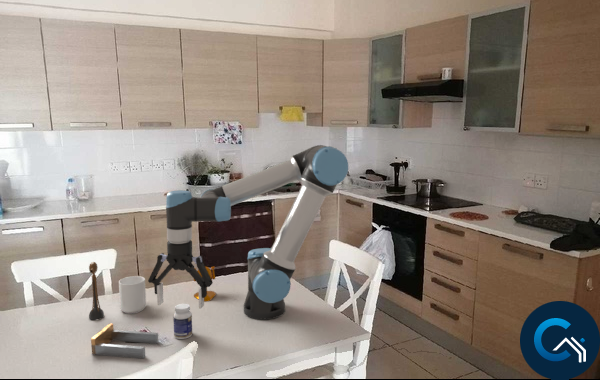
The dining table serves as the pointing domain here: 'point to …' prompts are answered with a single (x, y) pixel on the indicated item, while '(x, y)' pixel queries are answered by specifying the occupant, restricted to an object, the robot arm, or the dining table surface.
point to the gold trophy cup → (210, 294)
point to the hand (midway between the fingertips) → (180, 305)
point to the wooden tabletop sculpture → (95, 295)
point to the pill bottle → (182, 321)
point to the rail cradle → (108, 334)
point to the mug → (132, 294)
